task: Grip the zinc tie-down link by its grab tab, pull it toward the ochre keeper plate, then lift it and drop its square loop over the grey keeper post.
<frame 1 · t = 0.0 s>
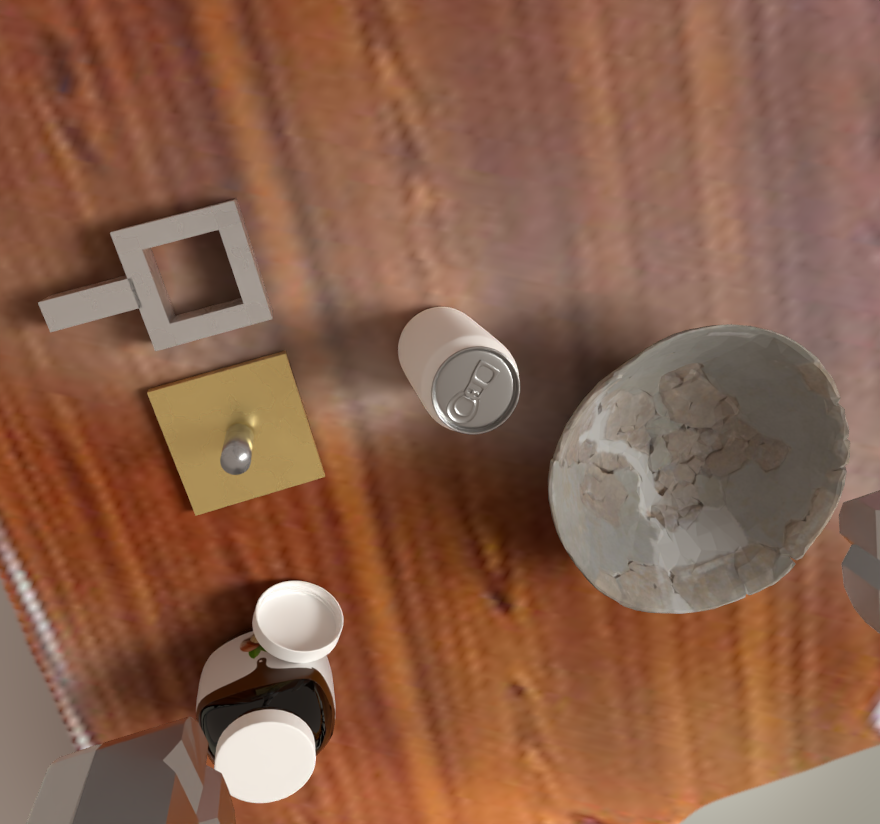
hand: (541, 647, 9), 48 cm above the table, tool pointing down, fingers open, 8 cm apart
link: (198, 271, 53), on the table
can: (438, 347, 58), on the table
keeper post: (240, 431, 57), on the table
spread jar: (275, 638, 63), on the table
ceramic bowl: (643, 432, 64), on the table
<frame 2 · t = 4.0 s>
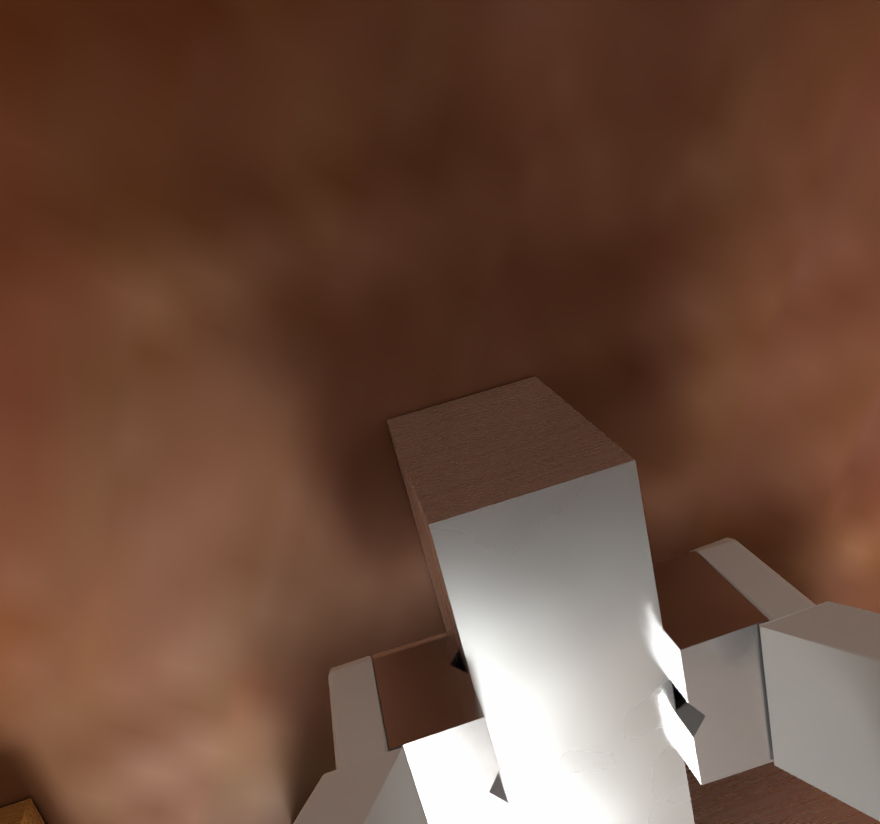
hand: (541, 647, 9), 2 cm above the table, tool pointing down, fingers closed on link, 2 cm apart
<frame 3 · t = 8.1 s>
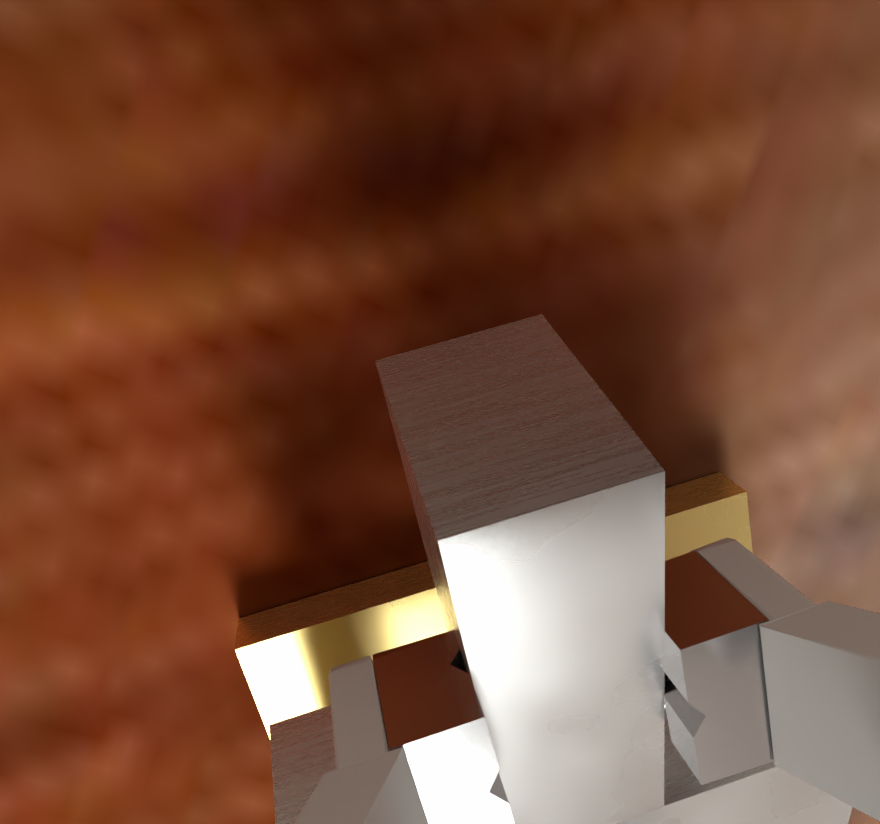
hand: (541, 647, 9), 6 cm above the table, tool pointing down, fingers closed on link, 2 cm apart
link: (539, 774, 14), point 2 cm above the table, tilted 16°, touching gripper, keeper post
keeper post: (532, 736, 17), on the table
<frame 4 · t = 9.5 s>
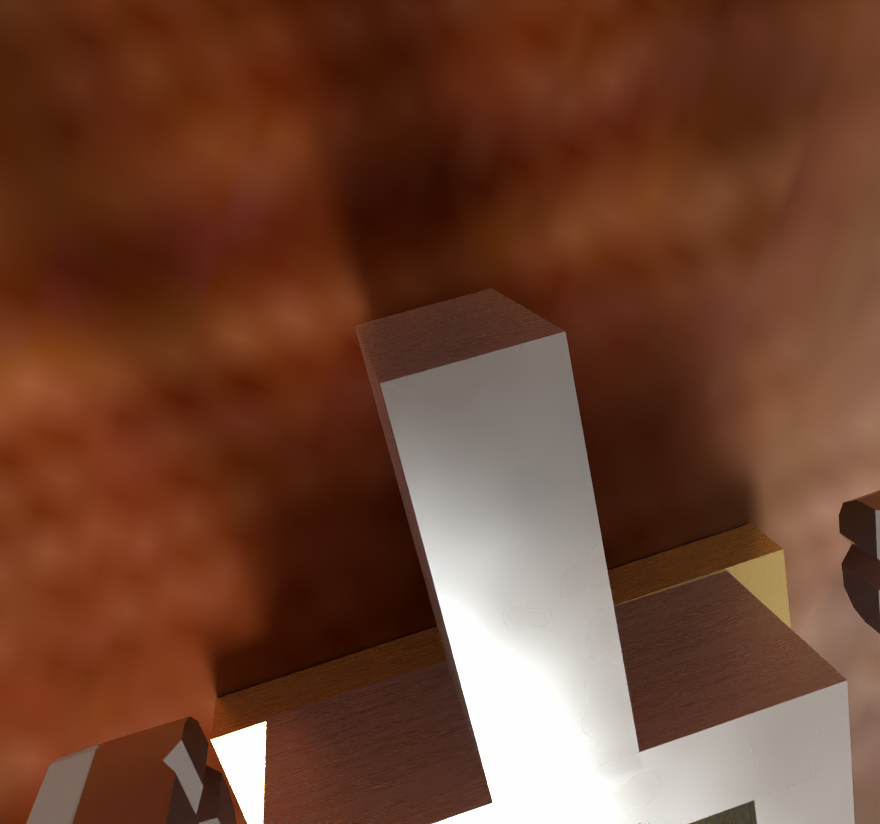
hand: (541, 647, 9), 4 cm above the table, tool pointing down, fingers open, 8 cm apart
link: (546, 818, 14), point 1 cm above the table, touching keeper post
keeper post: (545, 813, 15), on the table
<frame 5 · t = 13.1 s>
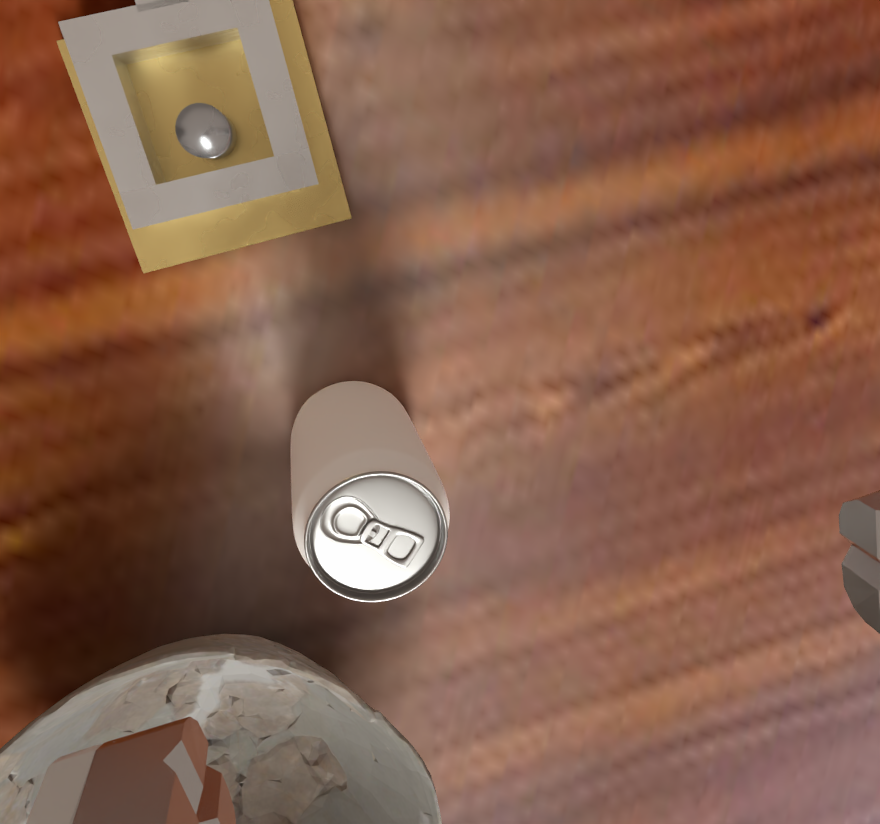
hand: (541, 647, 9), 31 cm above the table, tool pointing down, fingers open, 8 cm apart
link: (203, 112, 34), point 1 cm above the table, touching keeper post
can: (351, 435, 41), on the table
keeper post: (215, 136, 35), on the table
ceramic bowl: (223, 722, 45), on the table
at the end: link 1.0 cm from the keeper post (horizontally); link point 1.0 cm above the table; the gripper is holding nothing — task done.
